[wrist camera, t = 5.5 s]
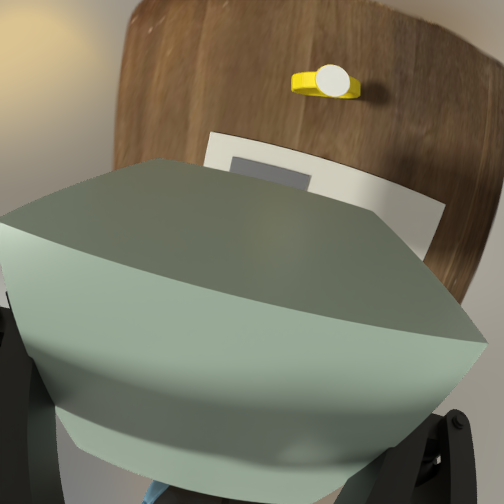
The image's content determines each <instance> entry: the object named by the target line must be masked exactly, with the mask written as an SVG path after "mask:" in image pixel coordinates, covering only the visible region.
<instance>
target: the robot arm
mask: <svg viewBox="0 0 504 504" xmlns="http://www.w3.org/2000/svg"><path fill="white" fill-rule="evenodd" d="M6 296H7V300H8V303H9V307H10V309H9V308H4V307H0V504H65V502H64V497H63V491H62V485H61V478H60V472H59V464H58V453H57V441H56V420H55V404H54V402H53V400H52V398H51V397H50V395H49V393H48V391H47V388H46V386H45V384H44V382H43V380H42V378H41V376H40V373H39V371H38V369H37V367H36V364H35V362H34V359H33V358H32V357H30V356H28V353H27V351H26V348H25V346H24V343H23V340H22V338H21V335H20V332H19V329H18V326H17V323H16V320H15V317H14V314H13V311H12V307H11V304H10V301H9V297H8V293H7V291H6ZM439 456H441V462H440V463H439V464H437V458H438V457H439ZM142 504H271V503H260V502H251V501H244V500H237V499H230V498H224V497H219V496H214V495H209V494H204V493H200V492H196V491H191V490H187V489H184V488H180V487H176V486H173V485H169V484H166V483H163V482H159V481H156V480H153V482H152V483H151V484H150V486H149V488H148V490H147V492H146V494H145V496H144V501H143V502H142ZM334 504H477V483H476V468H475V458H474V449H473V441H472V434H471V428H470V423H469V420H468V418H467V417H466V415H465V414H464V413H463V412H461V411H459V410H457V409H453V410H450V411H449V412H448V413H447V414H446V415H445V416H444V417H443V416H440V415H436V414H433V413H431V414H430V415H429V416H428V417H427V418H426V419H425V420H424V421H423V422H422V423H421V424H420V425H419V426H418V427H417V428H416V429H414V430H413V431H412V432H411V433H410V434H409V435H408V436H407V437H406V438H405V439H403V440H402V441H401V442H400V443H399V444H398V445H396V446H395V447H389V448H388V449H387V450H385V451H384V452H383V453H382V454H381V455H379V456H378V457H377V458H375V459H374V460H373V461H372V462H370V463H369V464H368V465H366V466H365V467H364V468H362V469H361V470H360V471H358V472H357V473H355V474H354V475H353V476H351V477H350V478H348V479H347V481H346V483H345V485H344V487H343V488H342V490H341V492H340V494H339V495H338V497H337V499H336V500H335V502H334Z"/></svg>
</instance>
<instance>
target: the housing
mask: <svg viewBox="0 0 504 504" xmlns="http://www.w3.org/2000/svg"><path fill="white" fill-rule="evenodd" d="M0 263H1V268H2V273H3V277H4V281H5V285H6V289H7V293H8V297H9V301H10V304H11V307H12V311H13V314H14V317H15V320H16V323H17V326H18V329H19V332H20V335H21V338H22V340H23V343H24V346H25V348H26V351H27V353H28V356H30V357H32V358H33V359H34V362H35V364H36V367H37V369H38V371H39V373H40V376H41V378H42V380H43V382H44V384H45V386H46V388H47V391H48V393H49V395H50V397H51V398H52V400H53V402H54V404H55V412H56V413H57V415H58V417H59V418H60V420H61V422H62V423H63V425H64V427H65V429H66V430H67V432H68V433H69V435H70V436H71V438H72V439H73V441H74V443H75V444H76V446H77V447H78V448H80V449H82V450H84V451H86V452H88V453H90V454H92V455H94V456H96V457H98V458H100V459H103V460H105V461H107V462H109V463H112V464H114V465H116V466H119V467H121V468H123V469H126V470H128V471H131V472H134V473H136V474H139V475H142V476H145V477H148V478H150V479H153V480H156V481H159V482H163V483H166V484H169V485H173V486H176V487H180V488H184V489H187V490H191V491H196V492H200V493H204V494H209V495H214V496H219V497H224V498H230V499H237V500H244V501H251V502H260V503H271V504H312V503H314V502H316V501H318V500H319V499H321V498H323V497H324V496H326V495H328V494H329V493H331V492H333V491H334V490H336V489H338V488H339V487H341V486H342V485H344V484H345V483H346V481H347V479H348V478H350V477H351V476H353V475H354V474H355V473H357V472H358V471H360V470H361V469H362V468H364V467H365V466H366V465H368V464H369V463H370V462H372V461H373V460H374V459H375V458H377V457H378V456H379V455H381V454H382V453H383V452H384V451H385V450H387V449H388V448H389V447H395V446H396V445H398V444H399V443H400V442H401V441H402V440H403V439H405V438H406V437H407V436H408V435H409V434H410V433H411V432H412V431H413V430H414V429H416V428H417V427H418V426H419V425H420V424H421V423H422V422H423V421H424V420H425V419H426V418H427V417H428V416H429V415H430V414H431V413H432V412H433V411H434V410H435V409H436V407H438V406H439V404H440V403H441V402H442V401H443V400H444V399H445V398H446V397H447V396H448V395H449V394H450V392H451V391H452V390H453V389H454V388H455V387H456V385H457V384H458V383H459V382H460V381H461V379H462V378H463V377H464V376H465V374H466V373H467V372H468V371H469V369H470V368H471V367H472V365H473V364H474V363H475V362H476V360H477V359H478V358H479V356H480V354H481V353H482V352H483V351H484V349H485V348H486V346H487V345H488V342H487V341H486V339H485V338H484V337H483V335H482V334H481V332H480V331H479V330H478V328H477V327H476V326H475V324H474V323H473V322H472V320H471V319H470V318H469V316H468V315H467V314H466V312H465V311H464V310H463V309H462V307H461V306H460V305H459V304H458V302H457V301H456V300H455V299H454V297H453V296H452V295H451V294H450V292H449V291H448V290H447V289H446V288H445V287H444V285H443V284H442V283H441V282H440V281H439V280H438V278H437V277H436V276H435V275H434V274H433V273H432V272H431V270H430V269H429V268H428V267H427V266H426V265H425V264H424V263H423V262H422V260H421V259H420V258H419V257H418V256H417V255H416V254H415V253H414V252H413V251H412V250H411V249H410V248H409V247H408V246H407V244H406V243H405V242H404V241H403V240H402V239H401V238H400V237H399V236H398V235H397V234H396V233H395V232H394V231H393V230H392V229H391V228H390V227H389V226H388V225H387V224H386V223H385V222H384V221H383V220H382V219H381V218H379V217H378V216H377V215H376V214H375V213H374V212H373V211H371V210H368V209H365V208H362V207H359V206H355V205H352V204H349V203H346V202H343V201H339V200H336V199H333V198H329V197H326V196H322V195H319V194H315V193H312V192H308V191H305V190H301V189H297V188H294V187H290V186H286V185H282V184H278V183H275V182H271V181H267V180H263V179H258V178H254V177H250V176H246V175H242V174H237V173H233V172H228V171H224V170H219V169H214V168H210V167H205V166H200V165H195V164H190V163H185V162H179V161H174V160H168V159H162V158H156V159H152V160H148V161H145V162H141V163H138V164H135V165H131V166H128V167H125V168H121V169H118V170H115V171H112V172H109V173H106V174H103V175H100V176H97V177H94V178H91V179H89V180H86V181H83V182H80V183H77V184H75V185H72V186H69V187H67V188H64V189H62V190H59V191H57V192H54V193H52V194H49V195H47V196H44V197H42V198H40V199H37V200H35V201H33V202H31V203H28V204H26V205H24V206H22V207H20V208H17V209H15V210H13V211H11V212H9V213H7V214H5V215H3V216H1V217H0Z"/></svg>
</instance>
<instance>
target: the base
mask: <svg viewBox="0 0 504 504" xmlns="http://www.w3.org/2000/svg"><path fill="white" fill-rule="evenodd" d="M204 166H205V167H210V168H214V169H219V170H224V171H228V172H233V173H237V174H242V175H246V176H250V177H254V178H258V179H263V180H267V181H271V182H275V183H278V184H282V185H286V186H290V187H294V188H297V189H301V190H305V191H308V192H312V193H315V194H319V195H322V196H326V197H329V198H333V199H336V200H339V201H343V202H346V203H349V204H352V205H355V206H359V207H362V208H365V209H368V210H371V211H373V212H374V213H375V214H376V215H377V216H378V217H379V218H381V219H382V220H383V221H384V222H385V223H386V224H387V225H388V226H389V227H390V228H391V229H392V230H393V231H394V232H395V233H396V234H397V235H398V236H399V237H400V238H401V239H402V240H403V241H404V242H405V243H406V244H407V246H408V247H409V248H410V249H411V250H412V251H413V252H414V253H415V254H416V255H417V256H418V257H419V258H420V259H421V260H422V262H423V259H424V257H425V255H426V253H427V251H428V248H429V246H430V244H431V241H432V239H433V236H434V234H435V232H436V229H437V227H438V224H439V221H440V219H441V216H442V213H443V211H444V208H445V204H443V203H441V202H439V201H436V200H434V199H432V198H430V197H427V196H425V195H423V194H420V193H418V192H416V191H413V190H411V189H408V188H406V187H403V186H401V185H398V184H396V183H393V182H390V181H388V180H385V179H382V178H380V177H377V176H374V175H371V174H369V173H366V172H363V171H360V170H357V169H354V168H351V167H348V166H345V165H342V164H339V163H336V162H332V161H329V160H326V159H323V158H319V157H316V156H312V155H309V154H305V153H302V152H298V151H295V150H291V149H287V148H283V147H279V146H275V145H271V144H267V143H263V142H259V141H254V140H250V139H245V138H240V137H236V136H231V135H226V134H221V133H215V132H210V137H209V142H208V146H207V151H206V156H205V162H204Z"/></svg>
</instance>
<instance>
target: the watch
mask: <svg viewBox="0 0 504 504" xmlns="http://www.w3.org/2000/svg"><path fill="white" fill-rule="evenodd" d="M291 90H292V91H293V92H295V93H298V94H303V95H312V96H322V97H331V98H345V99H347V98H348V99H350V98H358V97H359V96H360V82H359V81H358V80H357V79H355V78H353V77H350V76H348V74H347V73H346V72H345V71H344V70H343V69H342V68H341V67H339V66H336V65H325V66H322V67H321V68H320V69H319V70H318V71H317V72H302V73H297V74H294V75H293V76H292V78H291Z"/></svg>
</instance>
